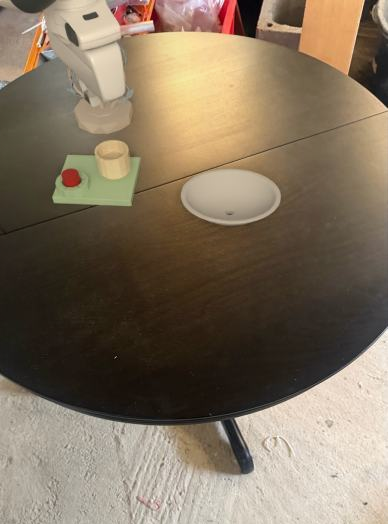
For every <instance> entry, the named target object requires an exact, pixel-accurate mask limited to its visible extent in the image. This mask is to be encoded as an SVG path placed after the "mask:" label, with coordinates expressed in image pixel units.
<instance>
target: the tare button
mask: <svg viewBox="0 0 388 524" xmlns="http://www.w3.org/2000/svg"><path fill="white" fill-rule="evenodd" d="M61 172H62V171H61ZM60 175H61V176H62V180H63V183H64V185H65V186H66V187H75V186H78V185H79V184H80V182H81V180H80V176H79V173H78V171H77V170H76V169H73V168H70V169H66V170H64V171H63V172H62V174H61V173H60Z"/></svg>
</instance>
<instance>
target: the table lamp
mask: <svg viewBox="0 0 388 524" xmlns="http://www.w3.org/2000/svg"><path fill="white" fill-rule="evenodd" d="M129 1H130V0H106V2H107V5H108V7H109V9H110V10H112V9H114V8H117V7H119V6H122V5H124V4H126V3H128V2H129ZM40 13H43V11H41V12H40ZM43 14H44V13H43ZM117 42H118V44H119V47H120V50H121V54H122V56H123V57H124V61H123V69H124V70H125V67H126V65H127V63H128V57H127V55H126V51H125V49H124V47H123V45H122V44H121V42H119V41H117ZM65 68H66V72H67V73H66V74H67V77H68V80H69V82H70V84H69V85H70V87H66V88H65V89H66V91H67V92H68V93H69V94H71V95H75V96H78V97H80V98H81V99H79V101H78V103H76V106H75V107H74V108H73V114H74V117H75V120H76V124H77V127H78V128H79V129H81V130H82V131H85V132H87V133H89V134H91V135H110V134H114V133H116V132H120V131H122V130H123V129H124V128H125V129H126V127H128V126H129V125H131V122H132V119H133V115H134V108H133V103H132V102H131V101H130V98H132V97H133V94H134V90H135V89H134V87H133V88H131V89H130V88H129V86H128V85H127V75H126V72H125V71H124V79H125V89H127V90H126V93H125V96H124V95H123V97H122V98H120V99H117V100H115V101H112V102H109V103H104V102H102V101H101V99H100V101H101V104H100V105H99V106H96V107H92V106H91V105H90V104H89V103H88V102H87V101H86V100H85V99H84V97H83V92H82V90H81V89H79V87H78V86H77V84H76V82H75V78H76V75H75V74H74V73H73V72H72V71H71V70H70V69H69V68H68V67H67V66H66V67H65ZM71 72H72V73H71Z"/></svg>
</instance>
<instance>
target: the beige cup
mask: <svg viewBox="0 0 388 524" xmlns="http://www.w3.org/2000/svg"><path fill="white" fill-rule="evenodd" d="M93 153H94V156H95V158H96V162H97V167H98V171H99V173H100V174H101V175H102V176H103V177H105V178H107V179H112V180H115V179H120V178H123V177H125V176H126V175H127V174H128V173H129V172H130V170H131V161H130V157H131V155H130V149H129V146H128V144H127V143H126V142H124V141H122V140H118V139H109V140H104V141H101V142H99V144H97V145H96V147H95V148H94V151H93Z"/></svg>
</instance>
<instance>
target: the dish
mask: <svg viewBox="0 0 388 524" xmlns="http://www.w3.org/2000/svg"><path fill="white" fill-rule="evenodd" d="M281 199H282V194H281V190H280V189H279V187H278V185H277V184H276V183H275V182H274V181H273V180H271V179H270V178H269V177H267V176H265V175H263V174H261V173H258V172H255V171H253V170H247V169H242V168H217V169H212V170H207V171H204V172H201V173H198V174H197V175H194V176H192V177H191V178H190V179H188V180H187V181H186V182H185V183H184V185H183V186H182V189H181V192H180V201H181V203H182V205H183V207H184V208H185V209H186V210H187V211H188V212H189V213H191V214H192V215H193V216H195V217H197V218H199V219H202V220H204V221H207V222H209V223H212V224H216V225H220V226H227V227H234V226H242V225H248V224H250V223H254V222H257V221H260V220H262V219H264V218H266V217H268V216H270V215H272V213H274V212H275V211H276V210H277V209H278V207H279V205H280V204H281V202H282V201H281Z"/></svg>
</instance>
